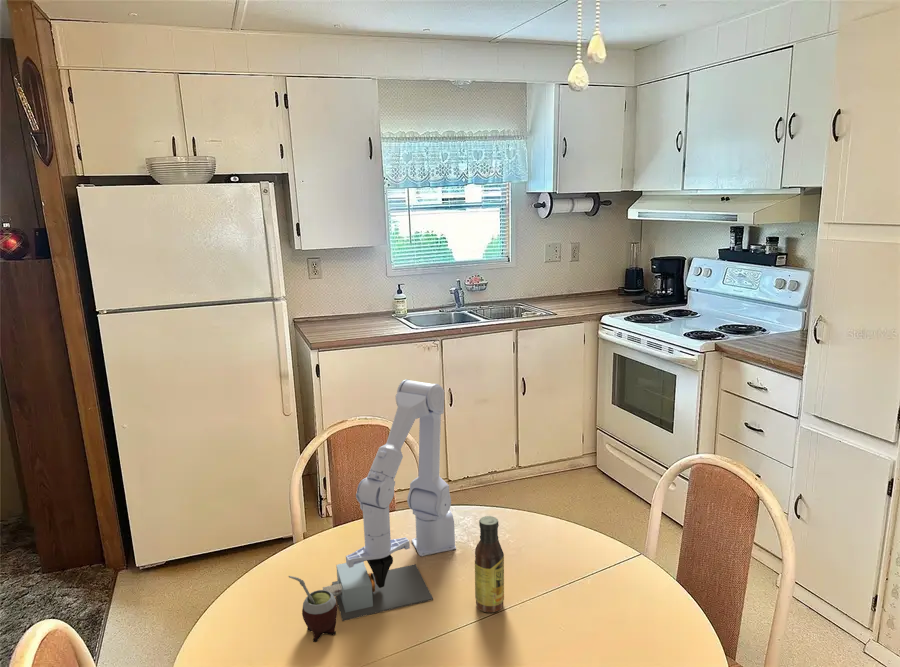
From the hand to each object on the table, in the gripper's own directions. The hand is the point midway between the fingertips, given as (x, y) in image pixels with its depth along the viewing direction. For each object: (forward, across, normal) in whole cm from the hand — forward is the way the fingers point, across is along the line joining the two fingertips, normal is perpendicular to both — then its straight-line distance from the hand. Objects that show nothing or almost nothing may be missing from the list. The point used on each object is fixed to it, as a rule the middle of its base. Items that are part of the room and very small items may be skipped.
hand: (380, 585), depth 142 cm
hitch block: (+2, +6, -1) cm, 6 cm away
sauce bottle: (+2, -18, +17) cm, 25 cm away
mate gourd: (+2, +16, +6) cm, 17 cm away
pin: (+1, +7, -1) cm, 7 cm away
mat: (+2, 0, 0) cm, 2 cm away
